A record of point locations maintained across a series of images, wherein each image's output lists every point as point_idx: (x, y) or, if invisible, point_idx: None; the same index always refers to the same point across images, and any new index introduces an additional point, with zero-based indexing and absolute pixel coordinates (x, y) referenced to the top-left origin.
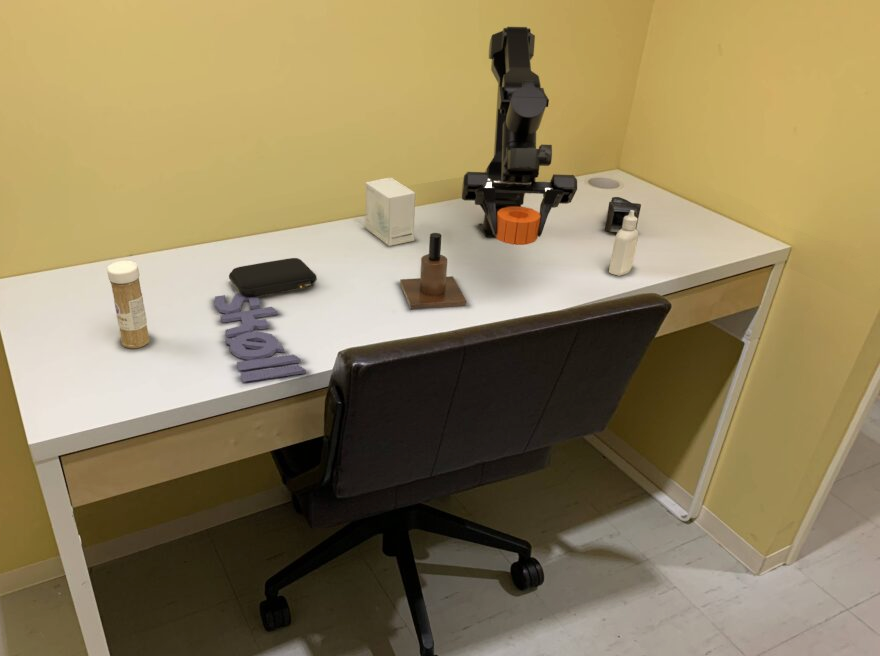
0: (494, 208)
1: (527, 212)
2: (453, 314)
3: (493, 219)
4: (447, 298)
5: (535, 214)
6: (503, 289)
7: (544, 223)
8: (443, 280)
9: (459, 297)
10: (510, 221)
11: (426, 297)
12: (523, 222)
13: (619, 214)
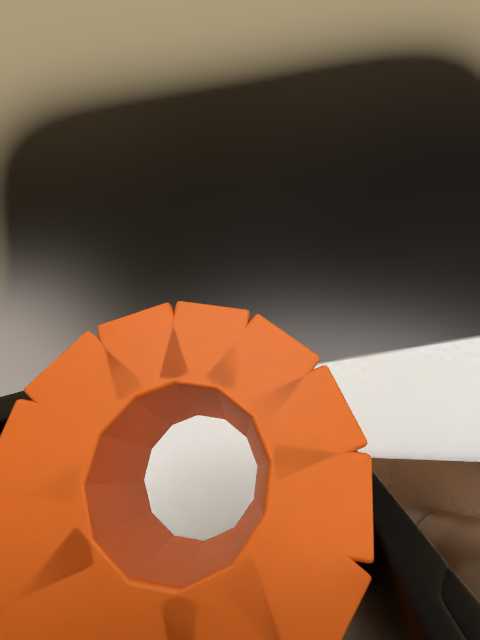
0: (425, 599)
1: (79, 499)
2: (386, 416)
3: (390, 507)
4: (406, 482)
5: (38, 435)
6: None
7: (24, 391)
8: (447, 527)
9: None
10: (296, 341)
11: (471, 501)
12: (209, 306)
13: None
